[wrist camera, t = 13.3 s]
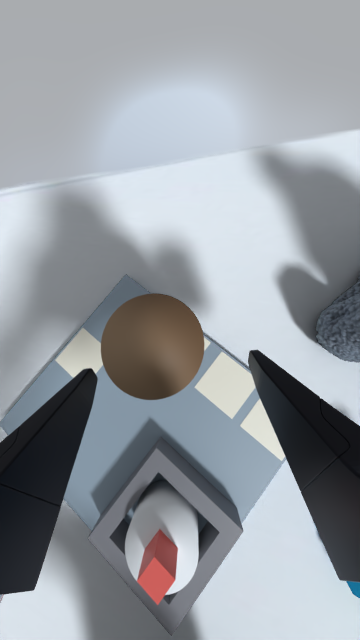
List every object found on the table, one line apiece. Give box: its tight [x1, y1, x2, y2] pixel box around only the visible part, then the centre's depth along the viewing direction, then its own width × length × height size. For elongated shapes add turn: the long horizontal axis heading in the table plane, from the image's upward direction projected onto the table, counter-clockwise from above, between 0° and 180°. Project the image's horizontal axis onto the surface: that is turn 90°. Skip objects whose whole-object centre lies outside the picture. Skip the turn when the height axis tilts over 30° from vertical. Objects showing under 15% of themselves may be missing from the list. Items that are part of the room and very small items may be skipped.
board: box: [0, 274, 286, 636], centre depth 17 cm, size 21×24×3 cm
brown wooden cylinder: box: [101, 294, 204, 400], centre depth 12 cm, size 4×4×12 cm
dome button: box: [125, 480, 199, 605], centre depth 13 cm, size 6×6×4 cm
